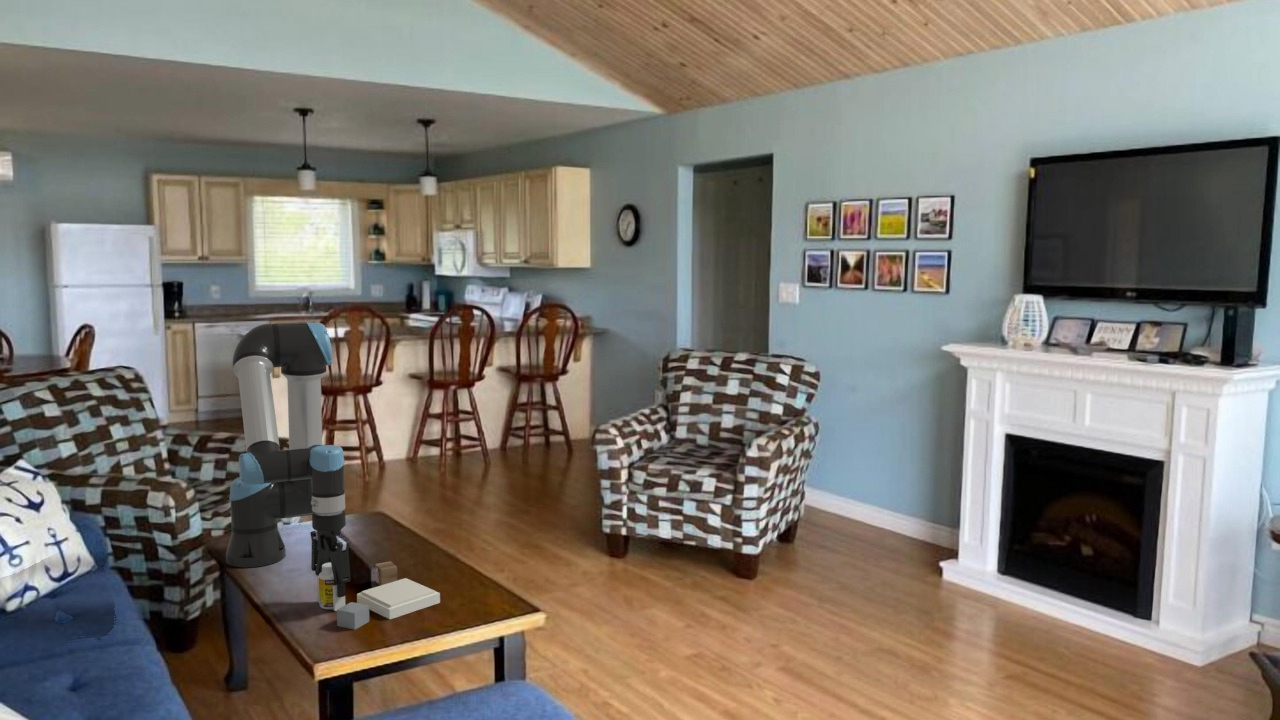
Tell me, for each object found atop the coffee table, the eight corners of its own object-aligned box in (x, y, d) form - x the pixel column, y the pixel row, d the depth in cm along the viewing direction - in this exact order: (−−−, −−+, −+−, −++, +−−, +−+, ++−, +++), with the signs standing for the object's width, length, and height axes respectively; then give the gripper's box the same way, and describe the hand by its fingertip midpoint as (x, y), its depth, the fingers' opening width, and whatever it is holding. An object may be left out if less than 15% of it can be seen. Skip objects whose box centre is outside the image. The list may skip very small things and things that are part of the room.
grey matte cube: (337, 626, 214) (336, 609, 213) (351, 618, 218) (351, 602, 218) (355, 630, 212) (354, 613, 211) (369, 622, 217) (368, 605, 216)
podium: (357, 603, 227) (356, 591, 227) (406, 587, 237) (406, 576, 237) (389, 619, 218) (389, 607, 217) (440, 602, 228) (439, 590, 228)
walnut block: (375, 582, 241) (375, 563, 240) (391, 579, 243) (390, 561, 242) (381, 588, 237) (381, 569, 236) (397, 585, 239) (397, 566, 238)
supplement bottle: (323, 612, 222) (321, 570, 220) (316, 604, 226) (315, 563, 225) (346, 607, 225) (345, 566, 223) (340, 599, 229) (338, 559, 228)
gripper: (293, 506, 226) (296, 598, 229) (335, 523, 213) (338, 620, 216) (322, 500, 232) (325, 590, 234) (365, 516, 219) (367, 611, 222)
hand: (331, 605), depth 225 cm, fingers open, 6 cm apart
